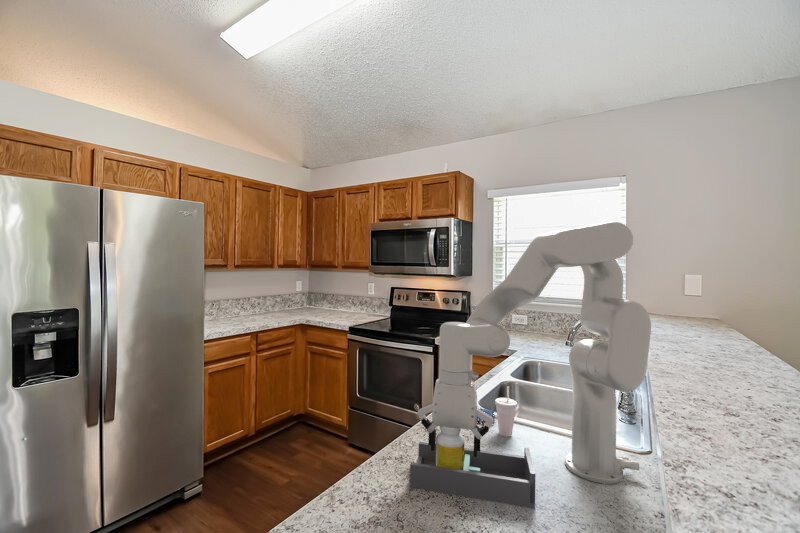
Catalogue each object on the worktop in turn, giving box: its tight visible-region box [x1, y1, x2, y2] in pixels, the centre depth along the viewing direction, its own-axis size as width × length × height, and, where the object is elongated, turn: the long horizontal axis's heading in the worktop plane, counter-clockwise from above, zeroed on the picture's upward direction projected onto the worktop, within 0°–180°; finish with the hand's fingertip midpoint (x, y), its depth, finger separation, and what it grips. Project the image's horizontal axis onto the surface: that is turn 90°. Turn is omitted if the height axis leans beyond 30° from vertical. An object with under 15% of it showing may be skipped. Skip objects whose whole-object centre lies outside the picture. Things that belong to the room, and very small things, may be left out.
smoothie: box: [494, 386, 518, 438], centre depth 105 cm, size 6×6×14 cm
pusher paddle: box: [463, 454, 480, 473], centre depth 80 cm, size 4×8×3 cm, turn 166°
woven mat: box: [477, 407, 496, 425], centre depth 117 cm, size 10×11×2 cm
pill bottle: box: [436, 426, 465, 470], centre depth 81 cm, size 6×6×12 cm
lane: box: [409, 441, 536, 510], centre depth 80 cm, size 26×11×7 cm, turn 76°
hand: (454, 451), depth 81 cm, fingers open, 9 cm apart
